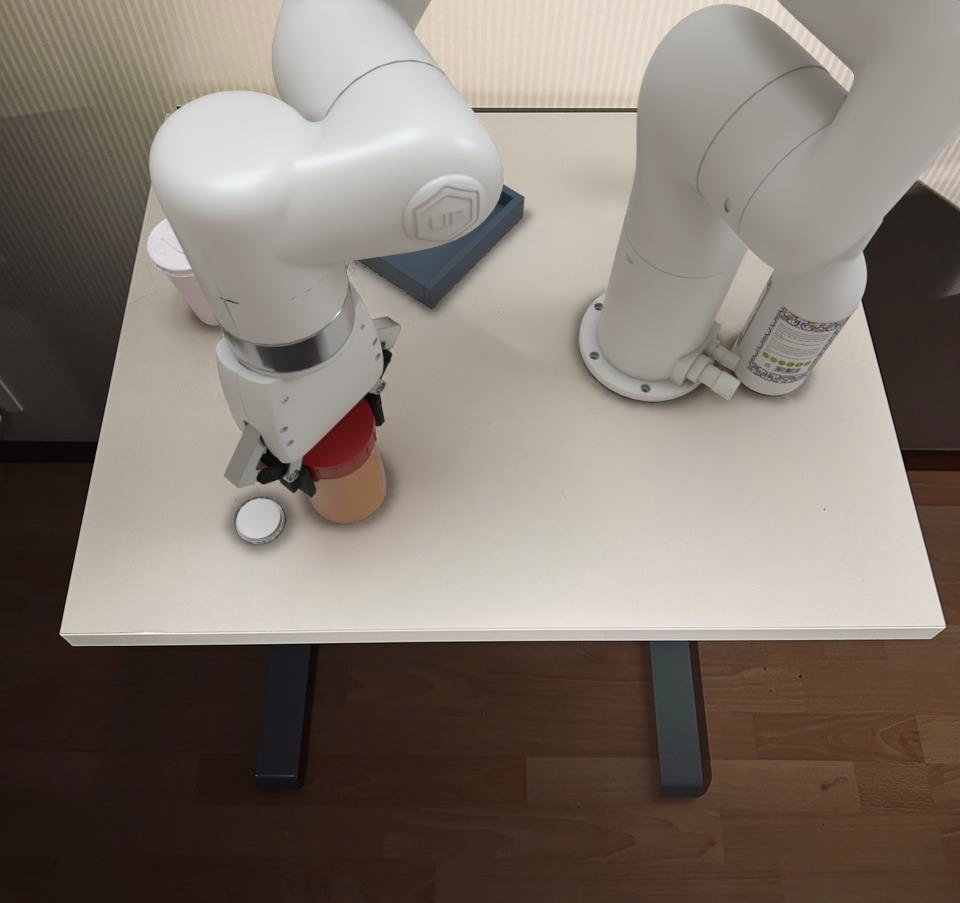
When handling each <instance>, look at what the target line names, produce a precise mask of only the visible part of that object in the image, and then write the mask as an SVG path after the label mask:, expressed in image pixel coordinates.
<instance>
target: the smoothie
mask: <svg viewBox="0 0 960 903" xmlns="http://www.w3.org/2000/svg"><path fill="white" fill-rule="evenodd" d="M146 241H147V243H146V250H147V253H148V256H149V257H150V260H151V263H152V265H153V266H154V267H155V268H156V269H157V271H159V272H161V273H162V274H164V275H165V276H166V278H167V279H168V280H169V281H170V282H171V283H172V285H173V286H174V288H175V289H176V290H177V292H179V294H180V295H181V296H182V298H183V299H184V301H186V303H187V305H188V306H189V307H190V309H192V311H193V313H195V315H196V316H197V317H198V318H199V320H200V321H201V322H202V323H203V324H205V325H208V326H214V327H215V326H219V325H218V323H217V321H216V319H215V316H214V314H213V312H212V310H211V308H210V306H209V304H208V302H207V300H206V298H205V296H204V294H203V291H202V289H201V287H200V285H199V283H198V281H197V279H196V277H195V275H194V273H193V271H192V269H191V267H190V265H189V262H188V260H187V258H186V256H185V254H184V252H183V250H182V248H181V246H180V244H179V242H178V240H177V238H176V236H175V234H174V232H173V230H172V228H171V226H170V223H169V221H168V219H167V217H166V218H165V219H163V220H161V221H160V222H159V223H157V224H156V225H155V227H154V228H152V230H151V231H150V233H149V235H148V238H147V240H146Z"/></svg>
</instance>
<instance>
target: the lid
mask: <svg viewBox="0 0 960 903" xmlns="http://www.w3.org/2000/svg"><path fill="white" fill-rule="evenodd" d="M375 425H376V421H375V416H374V415H373V413H372V410H371V408H370V405H369V404H368V402H367V401H366V400H365V398H364V397H363V398H362V399H361V400H360V401H359V402H358V403H357V404H356V405H355V406H354V407H353V408H352V409H351V410H350V411H349V412H348V413H347V414H346V415H345V416H344V417H343V418H342V419H341V420H340V421H339V422H338V423H337V424H336V425H335V426H334V427H333V428H332V429H331V430H330V431H329V432H328V433H327V434H326V435H325V436H324V437H323V438H322V439H321V440H320V441H319V442H318V443H317V444H316V445H315V446H314V447H313V448H311V449H310V450H309V451H308V452H307V453H306V454H305V455H304V456H303V460H302V465H303V466H304V467H306V468H307V469H308V471H309V472H310V475H311V476H313V477H317V478H320V479H321V478H335V477H340V476H343V475H346V474H348V473H350V472H352V471H354V470H355V469H356V470H357V468H358V467H360V466H361V465H362V464H363V463H364V462H365V461H366V460H367V459H368V457H370V454H371V452H372V450H373V448H374V445H375V441H378V437H377V427H376V426H375ZM376 437H377V438H376Z"/></svg>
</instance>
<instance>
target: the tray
mask: <svg viewBox="0 0 960 903" xmlns="http://www.w3.org/2000/svg"><path fill="white" fill-rule="evenodd" d="M524 209H525V195H523V194H521V193H519V192H517V191H516V190H514V189H512V188H510V187H509V186H508V185H506V184H504V183H503V188H502V192H501V195H500V198H499V200H498V202H497V204H496V206H495V208H494V209H493V211H492V212H491V213H490V215H489V216H488V217H487V218H486V219H485V220H484V221H483V222H482V223H481V224H480V225H479V226H478V227H476V228H475V229H474V230H472V231H471V232H469V233H468V234H466V235H464V236H462V237H460V238H458V239H456V240H454V241H451V242H448V243H446V244H443V245H440V246H437V247H433V248H429V249H425V250H421V251H415V252H409V253H403V254H396V255H389V256H382V257H375V258H368V259H361V260H358V261H359V262H360V263H362V264H363V265H365V266H366V267H368V268H369V269H371V270H373V271H374V272H376V273H377V274H378V275H380V276H381V277H383V278H384V279H386V280H387V281H389V282H391V283H392V284H394V285H395V286H397V287H398V288H400V289H402V290H403V291H404V292H405V293H407V294H409V295H410V296H412V297H413V298H415V299H417V300H418V301H420V302H421V303H423V304H424V305H425V306H427V307H428V308H430V309H433V308H434V307H435V306H436V305H437V304H438V303H439V302H440V301H441V300H442V298H444V297H445V295H447V294H448V293H449V291H451V290H452V289H453V288H454V287H455V285H456V284H457V283H459V282H460V281H461V280H462V279H463V278H464V277H465V276H466V275H467V274H468V273H469V271H470V270H471V269H473V268H474V267H475V266H476V265H477V264H478V263H479V261H481V259H482V258H484V257H485V255H486V254H487V253H489V251H491V250H492V249H493V248H494V247H495V245H496V244H498V242H500V240H501V239H503V237H505V235H507V234H508V232H509V231H510V230H512V228H514V227H515V225H517V224H518V222H520V220H521V219H522V218H523V217H524V211H525V210H524Z"/></svg>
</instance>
